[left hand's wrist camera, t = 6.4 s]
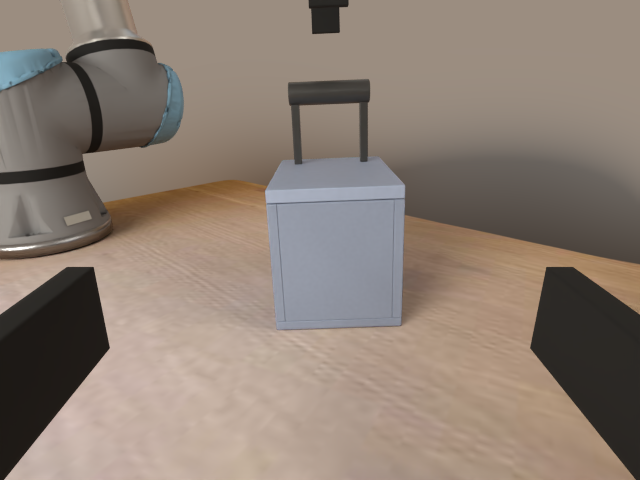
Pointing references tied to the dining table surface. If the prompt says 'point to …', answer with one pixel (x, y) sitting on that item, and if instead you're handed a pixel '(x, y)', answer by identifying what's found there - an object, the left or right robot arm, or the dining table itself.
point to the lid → (333, 173)
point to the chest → (337, 263)
